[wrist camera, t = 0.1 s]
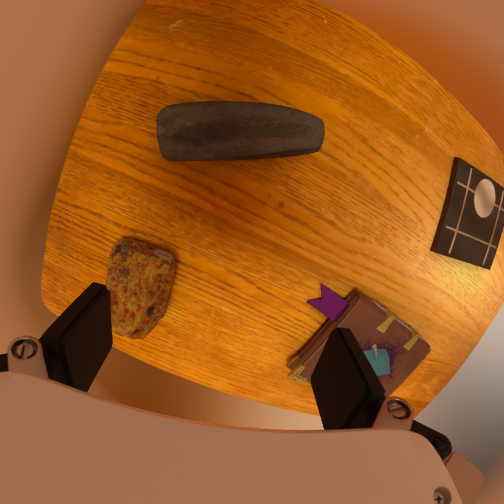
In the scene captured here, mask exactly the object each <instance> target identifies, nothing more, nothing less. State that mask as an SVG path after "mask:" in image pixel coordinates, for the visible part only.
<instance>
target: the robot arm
mask: <svg viewBox="0 0 504 504" xmlns="http://www.w3.org/2000/svg"><path fill="white" fill-rule="evenodd" d="M112 344H113V338H112V323H111V297H110V290H108V289H107V286H106V285H103V284H99V283H95V282H93V283H92V284H91V285H90V286H89V287H88V288H87V289H86V290H85V291H84V292H83V293H82V294H81V295H80V296H79V297H78V298H77V299H76V300H75V301H74V302H73V303H72V304H71V305H70V306H69V307H68V308H67V309H66V310H65V311H64V312H63V313H62V314H61V315H60V316H59V317H58V318H57V319H56V321H55V322H54V323H53V324H52V325H51V326H50V327H49V328H48V329H47V330H46V331H45V333H44V334H43V335H42V337H41V338H40V339H39V340H38V339H36V338H34V337H32V336H21V337H17V338H16V339H14V340H13V341H12V342H10V344H9V346H8V353H6V354H1V355H0V504H474V502H475V500H476V498H477V496H478V494H479V492H480V490H481V488H482V487H483V484H484V475H483V473H482V472H481V471H480V470H479V469H478V468H477V467H475V466H474V465H473V464H472V463H470V462H469V461H468V460H467V459H465V458H464V457H463V456H462V455H460V454H459V453H458V452H456V451H454V452H453V453H452V452H451V451H452V446H451V443H450V441H449V439H448V438H447V437H446V436H445V435H443V434H441V433H439V432H437V431H435V430H433V429H431V428H429V427H427V426H425V425H423V424H421V423H419V422H417V421H415V420H413V417H414V411H413V408H412V406H411V405H410V404H409V403H408V402H407V401H405V400H404V399H402V398H399V397H388V398H386V397H385V395H384V394H385V393H386V391H385V389H384V387H383V386H382V384H381V382H380V380H379V378H378V376H377V375H376V373H375V371H374V369H373V368H372V366H371V364H370V362H369V361H368V359H367V357H366V355H365V354H364V352H363V350H362V348H361V347H360V345H359V343H358V341H357V340H356V338H355V336H354V335H353V333H352V331H351V330H350V329H349V328H340V327H337V328H336V329H335V330H332V331H331V332H330V335H329V337H328V339H327V342H326V344H325V346H324V349H323V351H322V353H321V355H320V358H319V360H318V362H317V364H316V366H315V369H314V371H313V373H312V375H311V385H312V389H313V392H314V396H315V399H316V403H317V406H318V410H319V413H320V417H321V420H322V424H323V427H324V430H278V429H260V428H247V427H237V426H229V425H221V424H213V423H207V422H200V421H194V420H189V419H183V418H178V417H173V416H168V415H164V414H159V413H155V412H150V411H147V410H143V409H139V408H135V407H131V406H128V405H124V404H121V403H118V402H115V401H111V400H108V399H105V398H102V397H99V396H96V395H92V394H89V393H87V392H88V390H89V388H90V386H91V384H92V382H93V380H94V378H95V377H96V375H97V373H98V371H99V369H100V368H101V366H102V364H103V362H104V360H105V359H106V357H107V355H108V353H109V352H110V350H111V348H112Z"/></svg>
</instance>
